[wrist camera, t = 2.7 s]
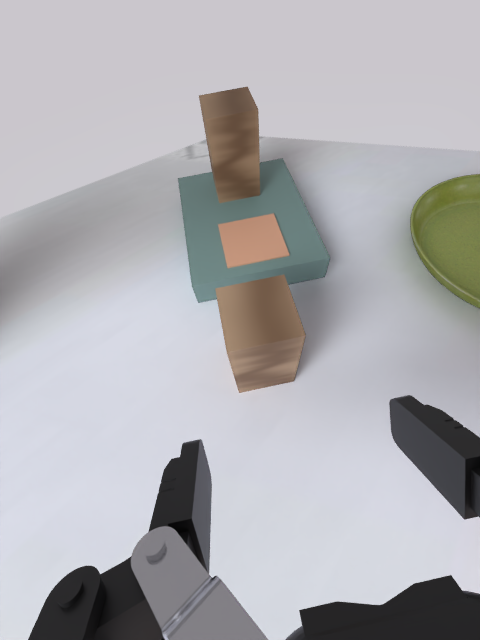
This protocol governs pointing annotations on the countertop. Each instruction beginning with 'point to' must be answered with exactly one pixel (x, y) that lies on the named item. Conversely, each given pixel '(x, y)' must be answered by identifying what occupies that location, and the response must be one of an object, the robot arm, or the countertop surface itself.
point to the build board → (249, 233)
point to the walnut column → (232, 142)
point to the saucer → (451, 235)
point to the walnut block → (261, 332)
